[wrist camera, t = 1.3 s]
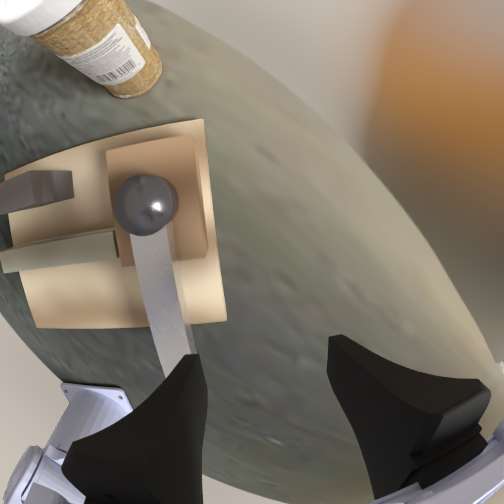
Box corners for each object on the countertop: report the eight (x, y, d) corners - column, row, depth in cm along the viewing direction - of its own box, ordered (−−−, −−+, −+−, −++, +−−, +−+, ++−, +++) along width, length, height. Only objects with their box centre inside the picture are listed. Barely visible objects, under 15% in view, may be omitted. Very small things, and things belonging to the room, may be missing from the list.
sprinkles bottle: (166, 45, 15) (107, -78, 2) (159, 97, 16) (65, -11, 3) (111, 54, 15) (18, -35, 2) (103, 104, 16) (-23, 40, 3)
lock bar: (124, 180, 14) (110, 180, 12) (175, 171, 14) (167, 169, 12) (165, 371, 17) (160, 389, 15) (208, 369, 17) (206, 388, 15)
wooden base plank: (226, 314, 21) (226, 361, 15) (42, 323, 20) (8, 354, 14) (204, 122, 17) (193, 95, 11) (11, 174, 16) (-35, 177, 10)
